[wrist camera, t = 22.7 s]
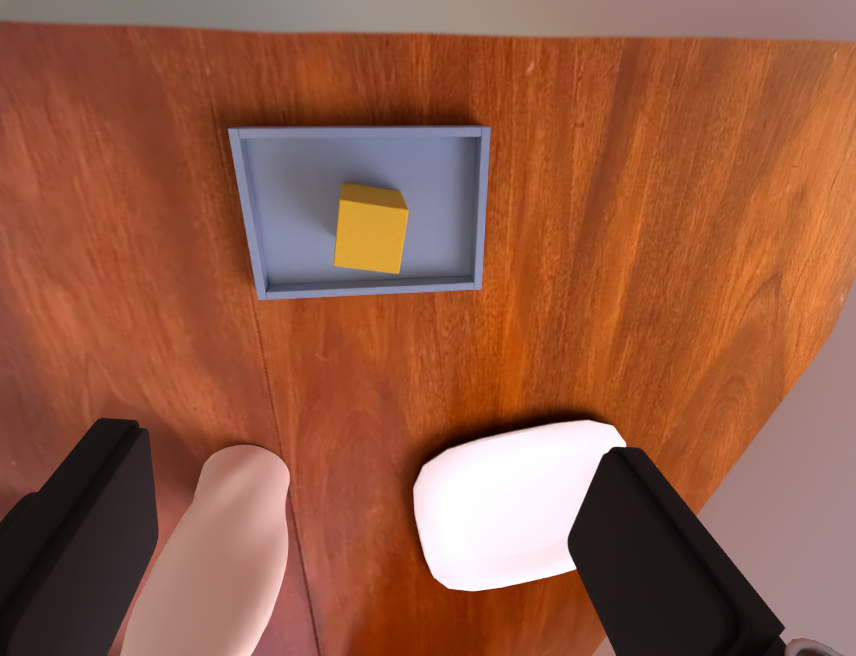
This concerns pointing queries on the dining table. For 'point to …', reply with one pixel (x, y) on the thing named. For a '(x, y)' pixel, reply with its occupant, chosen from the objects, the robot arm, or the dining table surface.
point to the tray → (371, 166)
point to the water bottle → (218, 563)
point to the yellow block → (370, 228)
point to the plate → (507, 503)
